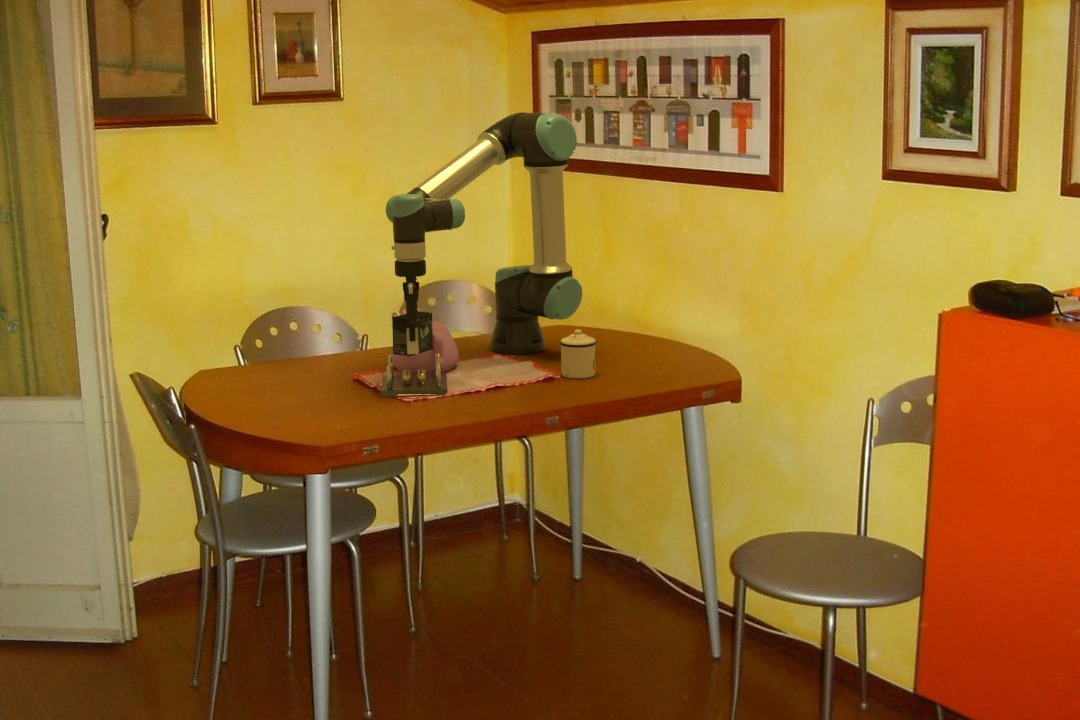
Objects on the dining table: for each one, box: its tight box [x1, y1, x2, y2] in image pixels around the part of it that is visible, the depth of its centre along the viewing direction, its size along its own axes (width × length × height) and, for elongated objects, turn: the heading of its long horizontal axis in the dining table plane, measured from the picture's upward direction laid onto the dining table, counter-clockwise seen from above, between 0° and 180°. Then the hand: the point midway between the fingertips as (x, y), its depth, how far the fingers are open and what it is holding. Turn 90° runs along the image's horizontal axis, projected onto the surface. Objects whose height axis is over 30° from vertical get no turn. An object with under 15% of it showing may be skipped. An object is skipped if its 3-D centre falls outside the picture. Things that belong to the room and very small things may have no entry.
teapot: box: [390, 309, 460, 374], centre depth 347 cm, size 25×18×14 cm
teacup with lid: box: [559, 329, 597, 380], centre depth 337 cm, size 12×9×12 cm
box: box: [391, 310, 433, 356], centre depth 324 cm, size 9×6×10 cm, turn 147°
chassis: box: [380, 353, 448, 398], centre depth 326 cm, size 16×16×7 cm
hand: (413, 348), depth 325 cm, fingers closed on box, 10 cm apart
